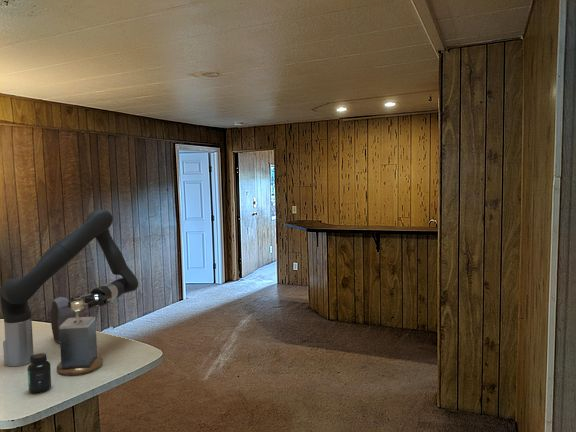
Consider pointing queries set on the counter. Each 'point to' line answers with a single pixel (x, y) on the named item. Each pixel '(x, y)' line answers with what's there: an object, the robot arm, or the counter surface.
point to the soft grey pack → (59, 315)
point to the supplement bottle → (39, 374)
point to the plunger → (77, 308)
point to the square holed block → (78, 347)
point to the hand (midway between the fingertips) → (78, 305)
